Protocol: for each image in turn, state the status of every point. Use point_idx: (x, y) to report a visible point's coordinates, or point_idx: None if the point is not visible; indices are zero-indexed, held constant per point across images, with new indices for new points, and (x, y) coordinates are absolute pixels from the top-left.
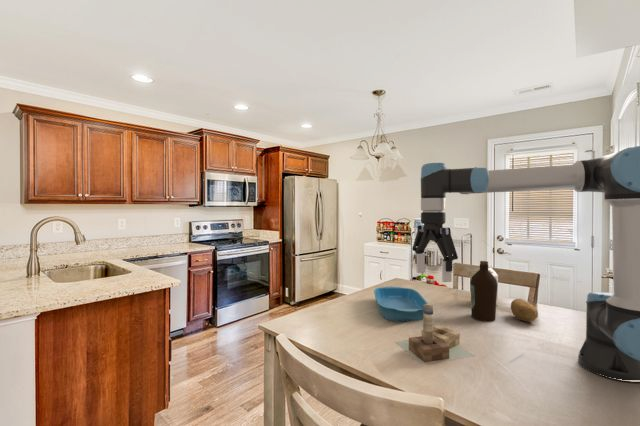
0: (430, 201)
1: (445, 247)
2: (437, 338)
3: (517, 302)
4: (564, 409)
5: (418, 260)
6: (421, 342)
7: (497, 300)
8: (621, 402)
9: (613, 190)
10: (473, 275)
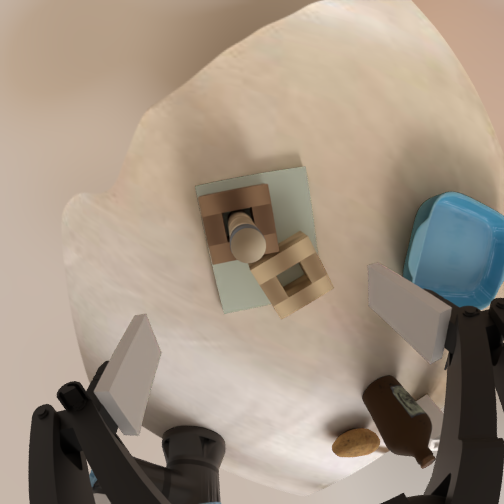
0: None
1: (50, 473)
2: None
3: (365, 446)
4: (93, 342)
5: (410, 297)
6: (237, 205)
7: None
8: None
9: None
10: (428, 428)
